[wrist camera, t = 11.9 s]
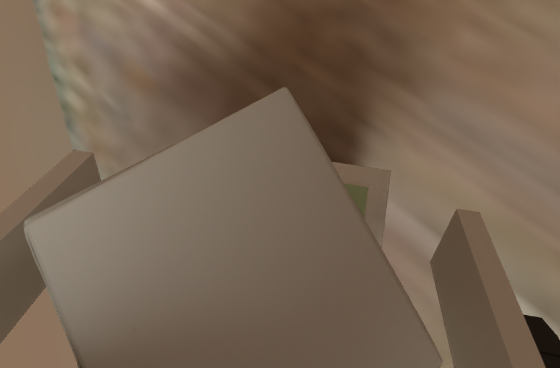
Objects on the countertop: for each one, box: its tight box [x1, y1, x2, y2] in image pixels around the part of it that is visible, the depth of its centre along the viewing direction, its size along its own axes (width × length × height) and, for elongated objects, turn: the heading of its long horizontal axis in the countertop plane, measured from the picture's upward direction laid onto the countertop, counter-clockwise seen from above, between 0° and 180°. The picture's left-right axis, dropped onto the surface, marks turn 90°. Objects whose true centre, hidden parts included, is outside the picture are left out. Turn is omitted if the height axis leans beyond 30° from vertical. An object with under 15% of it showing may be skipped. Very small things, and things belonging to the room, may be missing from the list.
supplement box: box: [24, 87, 443, 368], centre depth 14 cm, size 7×7×13 cm
